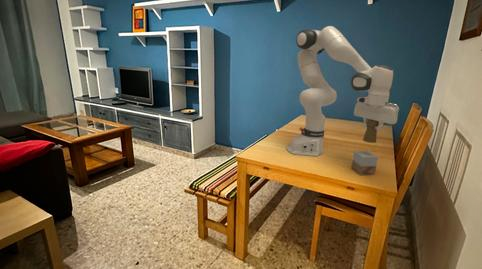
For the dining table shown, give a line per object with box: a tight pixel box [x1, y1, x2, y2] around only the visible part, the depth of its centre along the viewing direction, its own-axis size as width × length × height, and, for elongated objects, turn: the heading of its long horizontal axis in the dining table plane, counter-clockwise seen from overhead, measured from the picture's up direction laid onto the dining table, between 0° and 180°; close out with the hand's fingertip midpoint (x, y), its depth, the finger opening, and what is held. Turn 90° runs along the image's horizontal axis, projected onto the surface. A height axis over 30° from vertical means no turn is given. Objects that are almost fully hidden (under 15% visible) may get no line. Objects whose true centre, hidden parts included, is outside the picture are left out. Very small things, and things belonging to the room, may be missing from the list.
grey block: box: [352, 150, 379, 167], centre depth 128 cm, size 8×8×5 cm
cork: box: [362, 119, 379, 144], centre depth 123 cm, size 6×6×11 cm
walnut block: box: [350, 159, 377, 176], centre depth 129 cm, size 8×8×5 cm
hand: (371, 128), depth 123 cm, fingers closed on cork, 4 cm apart
